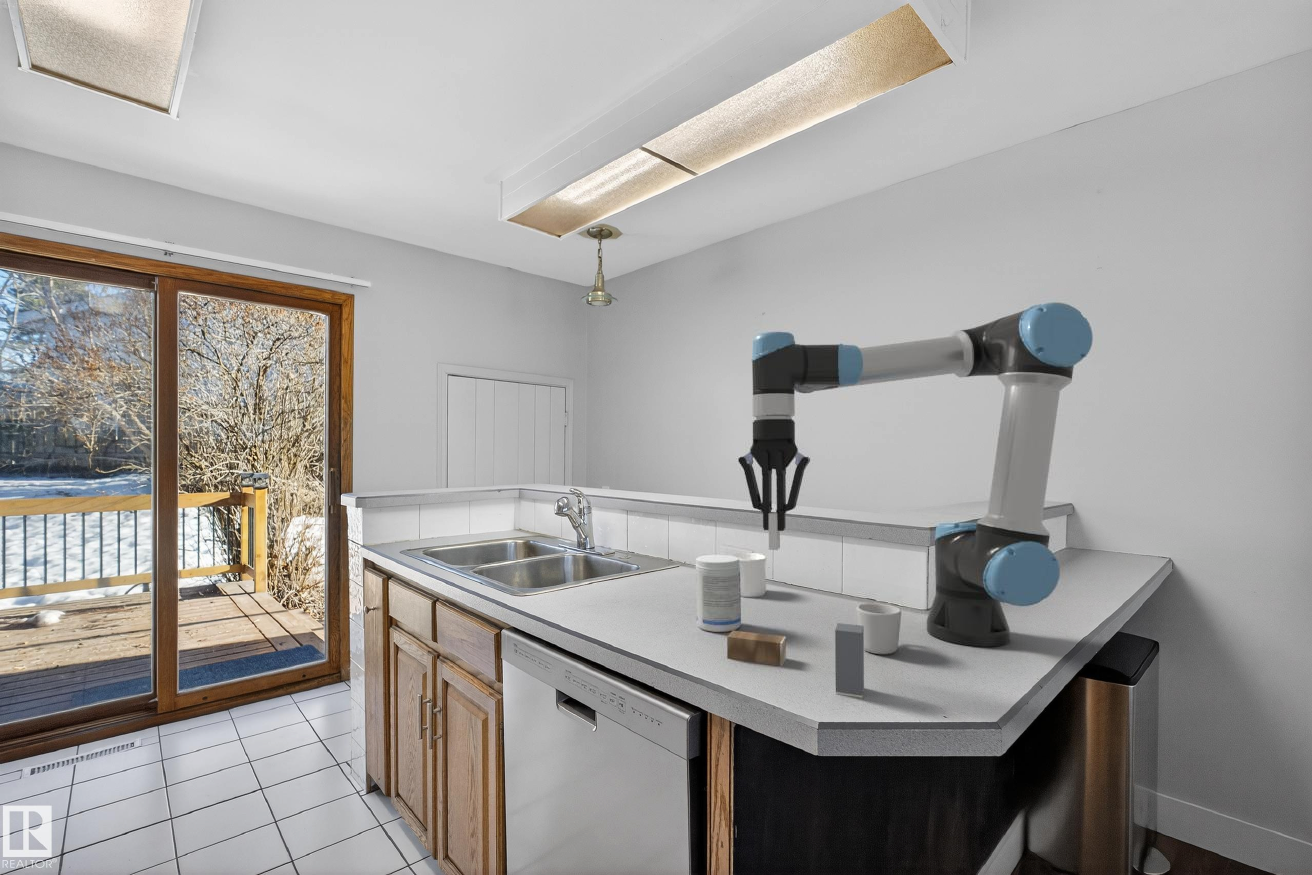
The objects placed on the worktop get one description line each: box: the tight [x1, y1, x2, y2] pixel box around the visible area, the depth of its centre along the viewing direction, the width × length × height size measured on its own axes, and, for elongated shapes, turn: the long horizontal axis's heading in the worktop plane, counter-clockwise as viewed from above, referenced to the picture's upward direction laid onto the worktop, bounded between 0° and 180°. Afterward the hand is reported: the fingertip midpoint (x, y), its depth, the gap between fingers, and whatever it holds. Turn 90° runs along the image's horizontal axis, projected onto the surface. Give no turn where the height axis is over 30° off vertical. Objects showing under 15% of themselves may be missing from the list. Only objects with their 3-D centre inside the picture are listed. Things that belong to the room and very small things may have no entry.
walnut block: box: [726, 630, 787, 667], centre depth 112 cm, size 4×4×10 cm
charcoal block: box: [834, 622, 865, 698], centre depth 97 cm, size 4×4×10 cm
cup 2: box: [856, 602, 902, 655], centre depth 117 cm, size 11×8×8 cm
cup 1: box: [731, 552, 767, 598], centre depth 160 cm, size 10×10×10 cm
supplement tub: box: [695, 554, 742, 633], centre depth 131 cm, size 10×10×15 cm
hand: (774, 548), depth 111 cm, fingers closed
